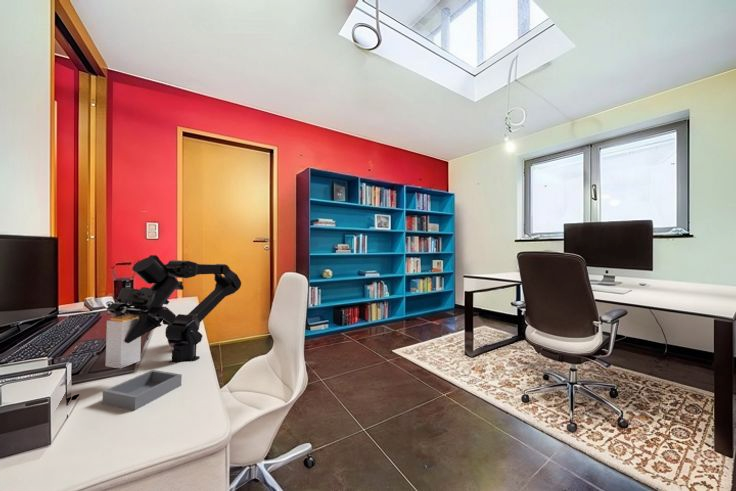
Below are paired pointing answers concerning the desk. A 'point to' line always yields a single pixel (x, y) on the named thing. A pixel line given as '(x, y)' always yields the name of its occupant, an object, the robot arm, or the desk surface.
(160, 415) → the desk surface
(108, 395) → the case
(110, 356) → the block
